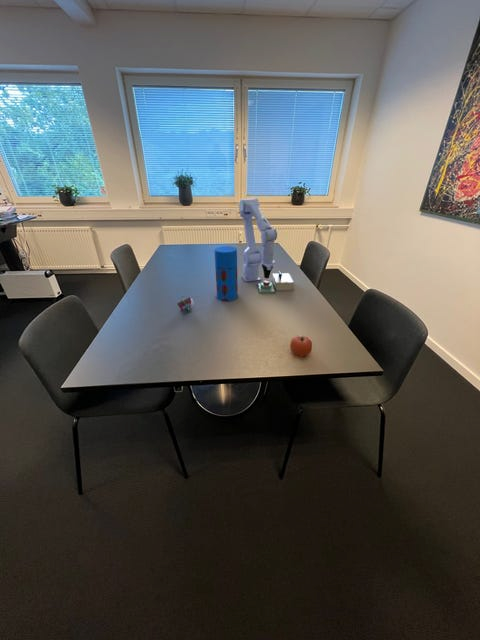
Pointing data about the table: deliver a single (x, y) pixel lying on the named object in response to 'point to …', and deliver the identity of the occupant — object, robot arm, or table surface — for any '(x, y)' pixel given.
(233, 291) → the thermos
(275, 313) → the table surface
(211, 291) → the table surface
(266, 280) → the button
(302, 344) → the red apple
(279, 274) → the lid
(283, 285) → the beige open box
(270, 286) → the control pad
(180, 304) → the geometric puzzle
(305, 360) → the table surface
